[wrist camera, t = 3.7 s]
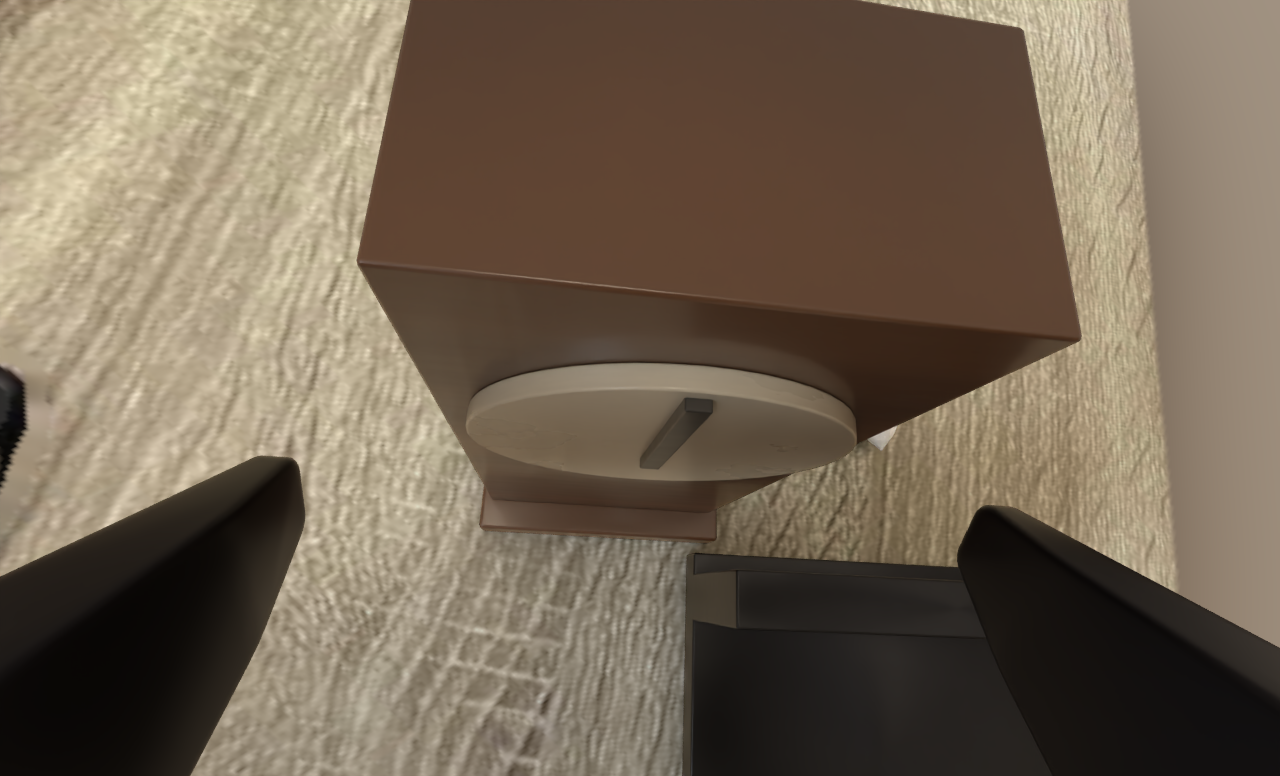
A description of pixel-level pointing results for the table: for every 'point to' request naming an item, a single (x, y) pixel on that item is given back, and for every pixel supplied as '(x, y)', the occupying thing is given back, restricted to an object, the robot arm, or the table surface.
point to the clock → (704, 241)
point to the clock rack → (842, 673)
